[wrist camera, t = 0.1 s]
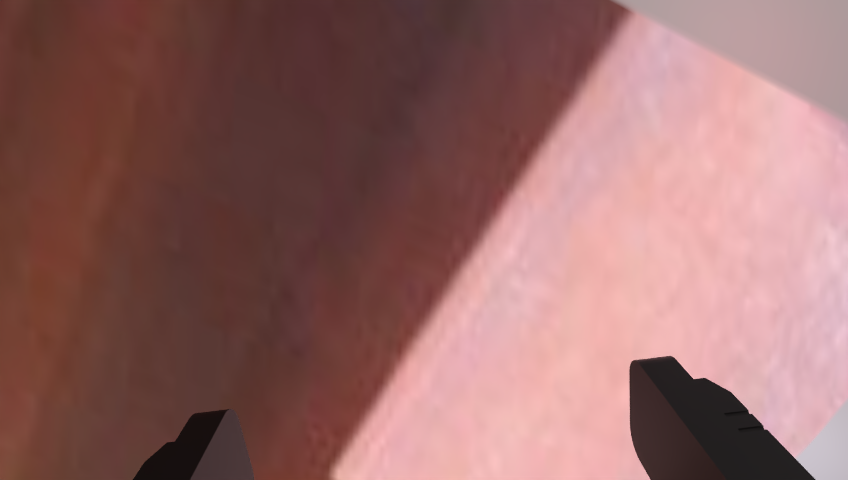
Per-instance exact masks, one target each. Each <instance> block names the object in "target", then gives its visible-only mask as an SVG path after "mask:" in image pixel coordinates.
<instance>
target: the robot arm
mask: <svg viewBox="0 0 848 480" xmlns="http://www.w3.org/2000/svg"><path fill="white" fill-rule="evenodd" d="M630 429H631V436H632V441H633V445H634V448H635V451H636V453H637V456H638V458H639V460H640V462H641V463H642V465H643V467H644V469H645V470H646V472H647V474H648V476H649V477H650V479H651V480H815V479H814V478H813V477H812V476H811V475H810V474H809V473H808V472H807V471H806V469H805V468H804V467H803V466H802V465H801V464H800V463H799V462H798V461H797V460H796V459H795V458H794V457H793V456H792V455H791V454H790V453H789V452H788V451H787V450H786V449H785V448H784V447H783V446H782V445H781V444H780V443H779V442H778V440H777V439H776V438H775V437H774V436H773V435H772V434H771V433H770V432H769V431H768V430H764V428H763V425H762V424H761V423H760V422H759V421H758V420H757V419H756V418H755V417H754V416H753V415H752V414H749V412H748V409H747V408H746V407H745V406H744V405H743V404H742V403H741V402H740V401H739V400H738V399H737V398H736V397H735V396H734V395H733V394H732V393H731V392H730V391H728V390H726V389H724V388H722V387H720V386H719V385H717V384H715V383H713V382H711V381H710V380H708V379H706V378H701V379H693V378H692V377H691V376H690V375H689V374H688V373H687V371H686V370H685V369H684V368H683V367H682V366H681V365H680V364H679V362H678V361H677V360H676V359H675V358H674V357H672V356H666V357H658V358H650V359H642V360H634V361H632V362H631V365H630ZM133 480H254V475H253V469H252V466H251V462H250V458H249V455H248V451H247V447H246V444H245V440H244V437H243V433H242V429H241V426H240V422H239V419H238V416H237V414H236V412H235V411H234V410H232V409H227V410H219V411H211V412H203V413H195V414H193V415H192V416H191V417H190V419H189V420H188V422H187V423H186V425H185V427H184V428H183V430H182V431H181V433H180V435H179V436H178V438H177V439H176V441H175V442H168V443H166V444H165V445H164V446H163V447H162V448H160V449H159V450H158V451H157V452H156V453H155V454H153V455H152V456H151V457H150V458H149V459H148V460H147V461H145V462H144V464H143V465H142V467H141V468H140V470H139V471H138V473H137V474H136V476H135V477H134V479H133Z"/></svg>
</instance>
